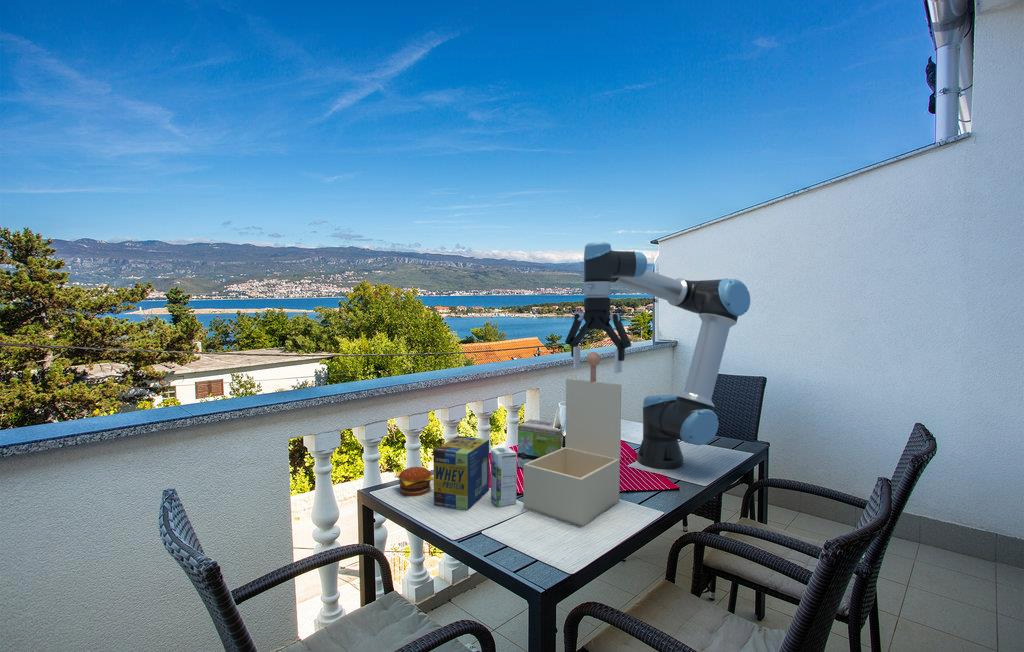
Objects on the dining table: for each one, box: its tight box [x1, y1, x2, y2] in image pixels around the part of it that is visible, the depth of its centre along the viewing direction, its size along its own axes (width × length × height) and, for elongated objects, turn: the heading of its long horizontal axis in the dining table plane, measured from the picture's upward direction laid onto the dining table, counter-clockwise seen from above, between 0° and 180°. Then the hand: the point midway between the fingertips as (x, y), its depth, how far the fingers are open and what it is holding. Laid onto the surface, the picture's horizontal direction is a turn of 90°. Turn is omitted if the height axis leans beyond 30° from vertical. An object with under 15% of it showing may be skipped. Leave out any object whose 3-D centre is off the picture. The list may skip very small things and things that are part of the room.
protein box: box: [432, 435, 490, 511], centre depth 139 cm, size 10×15×16 cm
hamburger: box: [395, 466, 434, 497], centre depth 145 cm, size 9×10×7 cm
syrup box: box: [490, 446, 518, 508], centre depth 135 cm, size 6×6×14 cm
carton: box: [522, 447, 621, 528], centre depth 133 cm, size 20×18×12 cm
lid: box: [565, 351, 622, 460], centre depth 141 cm, size 29×18×4 cm
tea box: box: [517, 418, 562, 469], centre depth 164 cm, size 15×10×15 cm, turn 62°
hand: (596, 370), depth 142 cm, fingers open, 13 cm apart
